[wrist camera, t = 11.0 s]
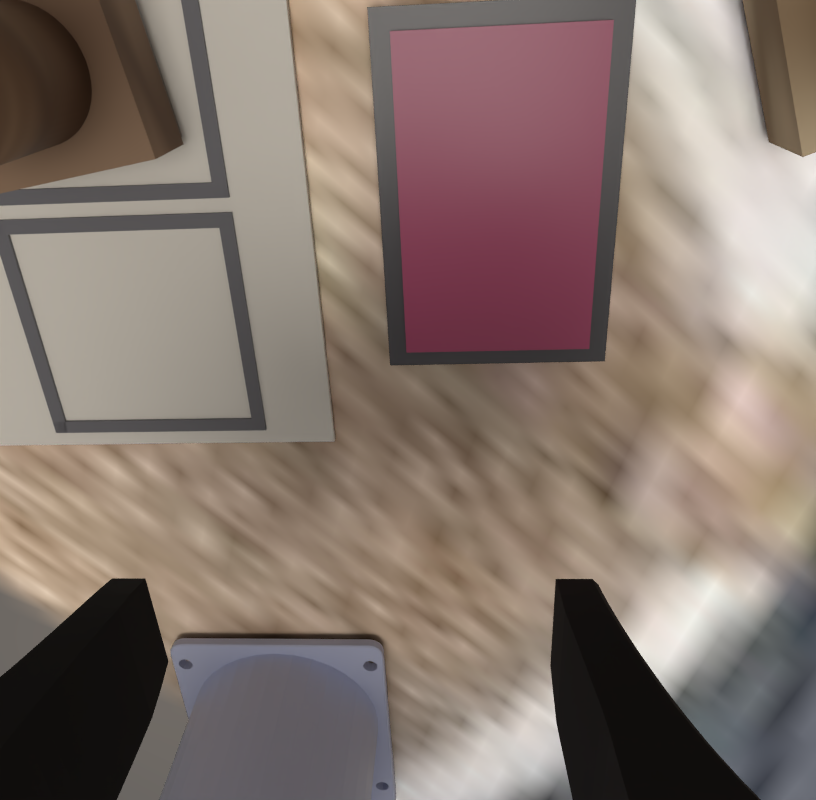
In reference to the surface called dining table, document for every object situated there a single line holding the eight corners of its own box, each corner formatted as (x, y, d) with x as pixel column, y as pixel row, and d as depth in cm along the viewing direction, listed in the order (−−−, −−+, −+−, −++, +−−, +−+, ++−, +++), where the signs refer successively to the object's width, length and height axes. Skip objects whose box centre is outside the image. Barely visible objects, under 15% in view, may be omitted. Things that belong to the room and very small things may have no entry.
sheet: (335, 438, 23) (334, 443, 23) (3, 442, 24) (-3, 446, 24) (272, -142, 16) (269, -144, 16) (-195, -110, 17) (-205, -112, 17)
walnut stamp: (189, 140, 19) (77, 199, 13) (33, 176, 20) (-138, 246, 14) (123, -58, 17) (-42, -89, 11) (-49, -12, 18) (-287, -18, 12)
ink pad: (598, 346, 21) (606, 365, 20) (392, 350, 22) (389, 369, 21) (627, -7, 17) (639, -7, 16) (371, 6, 18) (366, 7, 17)
